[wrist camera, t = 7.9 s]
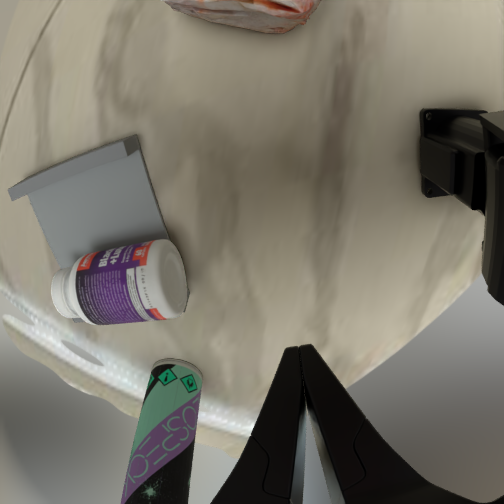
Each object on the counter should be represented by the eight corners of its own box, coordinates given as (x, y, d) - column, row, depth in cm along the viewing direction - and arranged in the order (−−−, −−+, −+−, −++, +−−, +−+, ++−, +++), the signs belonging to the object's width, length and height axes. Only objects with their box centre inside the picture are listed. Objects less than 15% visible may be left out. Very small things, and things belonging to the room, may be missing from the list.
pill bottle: (152, 238, 17) (38, 262, 18) (169, 327, 18) (54, 335, 18) (180, 236, 23) (79, 257, 24) (193, 307, 23) (91, 318, 24)
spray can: (213, 380, 31) (197, 562, 14) (176, 392, 32) (151, 554, 15) (178, 352, 28) (143, 554, 11) (142, 366, 30) (100, 541, 13)
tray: (136, 134, 18) (123, 141, 16) (189, 293, 25) (184, 312, 23) (24, 179, 19) (7, 189, 17) (84, 306, 26) (74, 322, 24)
